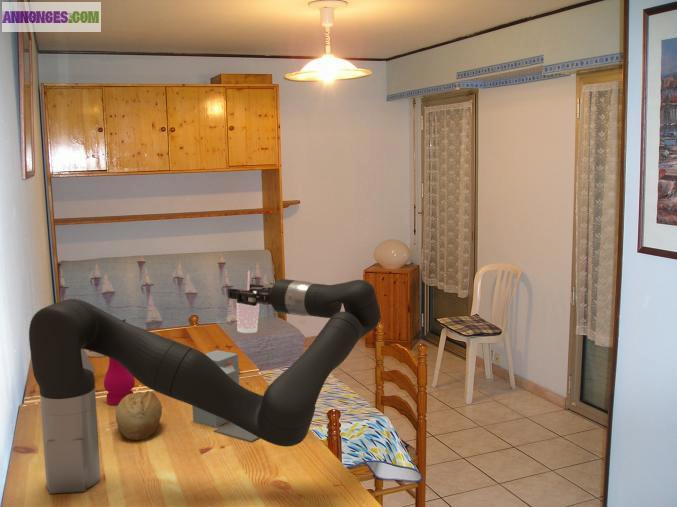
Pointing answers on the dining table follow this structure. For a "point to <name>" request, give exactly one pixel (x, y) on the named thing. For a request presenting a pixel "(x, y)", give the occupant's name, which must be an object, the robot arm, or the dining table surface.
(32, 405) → the dining table surface
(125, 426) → the bread roll
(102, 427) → the dining table surface
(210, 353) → the far cabinet
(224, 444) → the dining table surface
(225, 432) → the near cabinet dock
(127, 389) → the pepper mill
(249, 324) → the beverage cup
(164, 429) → the dining table surface
